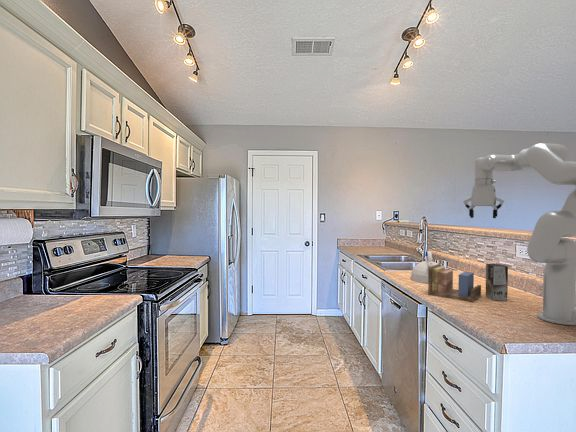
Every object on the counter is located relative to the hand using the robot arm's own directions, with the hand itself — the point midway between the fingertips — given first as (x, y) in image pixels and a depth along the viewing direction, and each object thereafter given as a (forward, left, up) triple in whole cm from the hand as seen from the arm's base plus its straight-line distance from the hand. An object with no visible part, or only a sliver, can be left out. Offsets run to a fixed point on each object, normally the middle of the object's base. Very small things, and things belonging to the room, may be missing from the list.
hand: (482, 217), depth 157 cm
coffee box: (-6, 0, -38) cm, 39 cm away
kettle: (+32, -18, -39) cm, 53 cm away
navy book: (+5, +9, -37) cm, 38 cm away
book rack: (+10, +9, -38) cm, 41 cm away
